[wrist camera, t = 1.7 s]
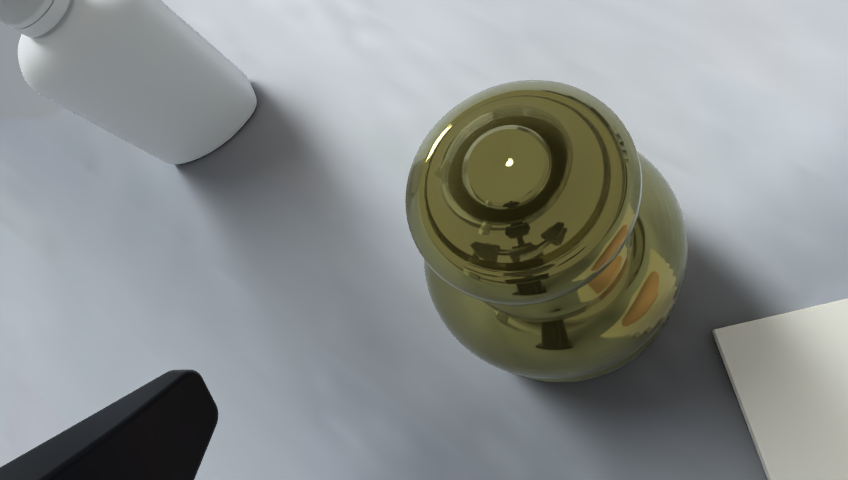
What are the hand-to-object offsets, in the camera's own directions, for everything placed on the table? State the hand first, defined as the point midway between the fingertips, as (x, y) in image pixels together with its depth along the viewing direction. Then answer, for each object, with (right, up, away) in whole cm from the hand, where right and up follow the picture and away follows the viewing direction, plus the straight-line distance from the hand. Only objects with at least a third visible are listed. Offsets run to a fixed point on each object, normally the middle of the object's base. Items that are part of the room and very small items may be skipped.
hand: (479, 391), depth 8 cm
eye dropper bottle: (-11, +8, +20) cm, 24 cm away
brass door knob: (+4, +1, +12) cm, 13 cm away
